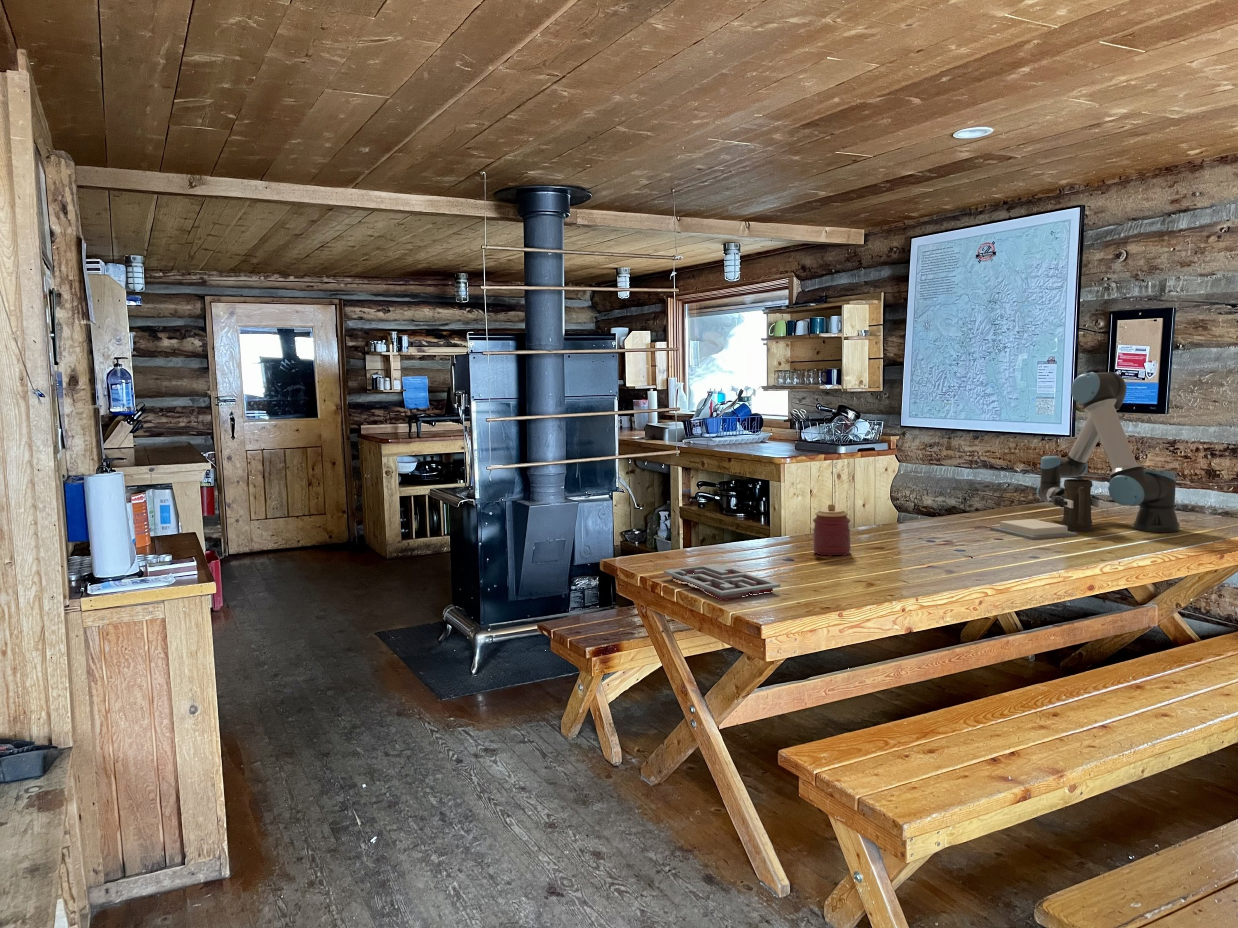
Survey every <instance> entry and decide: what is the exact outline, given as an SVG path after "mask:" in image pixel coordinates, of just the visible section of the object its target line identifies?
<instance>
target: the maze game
mask: <svg viewBox="0 0 1238 928" xmlns="http://www.w3.org/2000/svg"><path fill="white" fill-rule="evenodd" d="M693 573H694V575H688V576H687V574H693ZM663 574H666V575H669V576H671V577H672V578H673V579H676V580H679V581H681V582H687V583H690V584H693V585H695V586H697V587H699V588H702V589H704V591H705V592H707V593H709V594H711V595H713V596H715V597H717V598H719V599H721V600H720V601H722V600H723V601H727V600H726V599H730V600H734V599H733V598H736V599H740V597H742V596H746V595H749V593H750V594H752V595H753V594H759V593H764V592H771V591H773V592H774V589H775V588H780V587H781V583H778V582H775V581H772V580H769V579H765V578H763V577H760V576H756V575H753V574H750V573H748V572H744V571H741V570H738V569H735V568H732V567H729V566H726V565H723V564H720V563H709V564H703V565H695V566H687V567H686V566H685V567H681V568H679V567H678V568H671V569H665V570H663ZM672 578H671V579H672ZM713 587H714V588H713ZM749 596H750V595H749ZM717 598H716V599H717ZM742 598H743V597H742ZM719 599H718V600H719Z"/></svg>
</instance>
